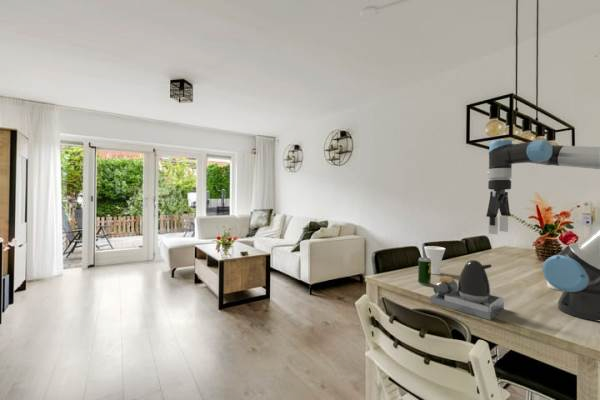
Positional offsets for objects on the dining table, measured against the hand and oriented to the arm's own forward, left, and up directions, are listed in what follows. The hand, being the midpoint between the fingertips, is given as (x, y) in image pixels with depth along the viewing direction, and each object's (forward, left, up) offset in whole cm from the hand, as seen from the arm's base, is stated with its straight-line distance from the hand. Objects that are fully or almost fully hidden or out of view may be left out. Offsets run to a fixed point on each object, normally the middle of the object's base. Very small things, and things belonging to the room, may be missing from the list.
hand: (498, 232), depth 116 cm
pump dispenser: (+3, +18, -24) cm, 30 cm away
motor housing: (+5, +18, -27) cm, 33 cm away
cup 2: (-13, -38, -27) cm, 48 cm away
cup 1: (+34, -19, -27) cm, 47 cm away
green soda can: (+28, +4, -27) cm, 39 cm away
